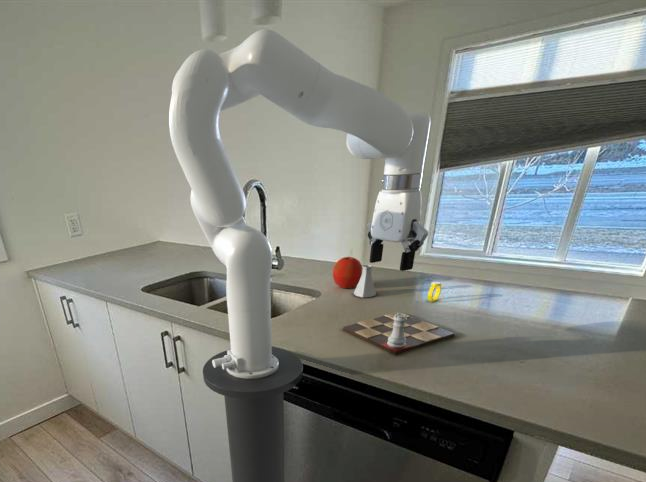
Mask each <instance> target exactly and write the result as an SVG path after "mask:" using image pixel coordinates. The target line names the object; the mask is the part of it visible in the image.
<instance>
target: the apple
mask: <svg viewBox="0 0 646 482" xmlns="http://www.w3.org/2000/svg"><path fill="white" fill-rule="evenodd" d="M362 266H363V265H362V263H361V261H360V260H359V259H357V258H356V257H352V256H350V255H348V256H344V257H341V258H340V259H339V260H337V261H336V263H335V264H334V265H333V271H332V278H333V281H334V284H336V285H337V286H338V287H339V288H342V289H353V288H355V287H357V285H358V283H359V281H360V278H361V276H362V272H363V268H362Z"/></svg>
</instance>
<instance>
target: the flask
mask: <svg viewBox="0 0 646 482" xmlns="http://www.w3.org/2000/svg"><path fill="white" fill-rule="evenodd" d="M373 267H374V265H372V264H364V265H362V275H361V278H360V281H359V283H358V284H357V285H356V286H355V289H354V291H353V294H354V296H355V297H360V298H371V297H374V296H377V291H376V288H375V285H374V281H373V278H372V269H373Z"/></svg>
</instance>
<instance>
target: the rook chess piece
mask: <svg viewBox="0 0 646 482" xmlns="http://www.w3.org/2000/svg"><path fill="white" fill-rule="evenodd" d="M400 313H401V315H400ZM400 313H397V314H395V316H394V317H393V320H394V323H393V325H394V327H393V331H392V334H391V335H390V337H388V342H387V344H388V345H389V346H390V347H393V348H402V347H404V346H405V345H406V343H405V342H406V338H405V335H404V326H405V321H406V320H407V318H406V315H407V314H405V313H404V312H400ZM403 314H404V315H403Z"/></svg>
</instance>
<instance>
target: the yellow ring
mask: <svg viewBox="0 0 646 482" xmlns="http://www.w3.org/2000/svg"><path fill="white" fill-rule="evenodd" d="M430 284H431V285H430V286H429V289H428V292H427V301H428V302H431V303H434V302H436V301H437V300H438V299H439V298H440V295H441V291H442V282H441V281H432V282H431V283H430ZM433 295H434V296H433Z"/></svg>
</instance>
